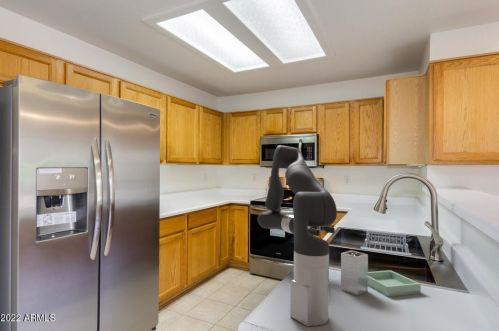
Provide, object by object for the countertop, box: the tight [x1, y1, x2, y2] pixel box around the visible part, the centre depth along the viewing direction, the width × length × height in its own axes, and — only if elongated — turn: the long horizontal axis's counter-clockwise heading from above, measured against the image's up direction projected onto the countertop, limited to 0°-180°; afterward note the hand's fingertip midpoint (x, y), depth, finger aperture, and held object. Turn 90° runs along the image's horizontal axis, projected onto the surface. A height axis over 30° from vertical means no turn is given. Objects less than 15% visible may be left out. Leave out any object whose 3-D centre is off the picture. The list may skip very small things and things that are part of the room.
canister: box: [340, 249, 369, 297], centre depth 90 cm, size 6×6×12 cm
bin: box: [368, 269, 422, 297], centre depth 94 cm, size 13×13×3 cm
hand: (326, 231), depth 100 cm, fingers open, 8 cm apart
